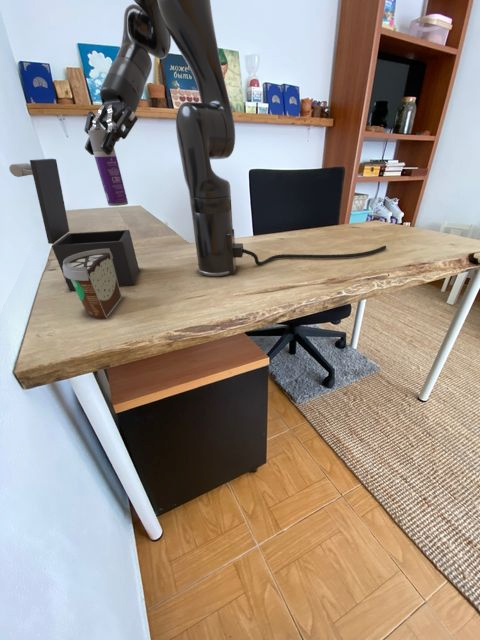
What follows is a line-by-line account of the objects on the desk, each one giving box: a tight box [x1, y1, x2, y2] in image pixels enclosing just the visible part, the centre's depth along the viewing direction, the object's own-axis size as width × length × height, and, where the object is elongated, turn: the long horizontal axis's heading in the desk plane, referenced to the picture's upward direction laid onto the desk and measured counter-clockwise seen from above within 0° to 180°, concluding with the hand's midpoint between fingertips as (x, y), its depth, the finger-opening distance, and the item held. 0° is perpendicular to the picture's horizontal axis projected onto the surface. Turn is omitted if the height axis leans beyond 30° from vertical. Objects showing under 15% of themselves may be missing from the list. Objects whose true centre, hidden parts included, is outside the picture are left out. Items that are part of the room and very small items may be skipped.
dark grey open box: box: [51, 229, 140, 292], centre depth 68 cm, size 14×12×10 cm
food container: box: [62, 249, 123, 320], centre depth 55 cm, size 12×6×10 cm, turn 5°
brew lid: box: [8, 158, 70, 245], centre depth 60 cm, size 14×12×5 cm
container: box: [87, 129, 129, 207], centre depth 70 cm, size 5×5×15 cm
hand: (97, 151), depth 66 cm, fingers closed on container, 4 cm apart
